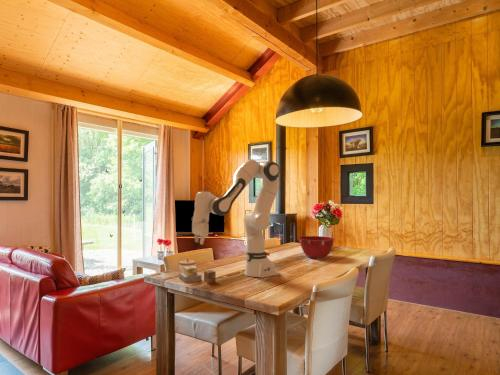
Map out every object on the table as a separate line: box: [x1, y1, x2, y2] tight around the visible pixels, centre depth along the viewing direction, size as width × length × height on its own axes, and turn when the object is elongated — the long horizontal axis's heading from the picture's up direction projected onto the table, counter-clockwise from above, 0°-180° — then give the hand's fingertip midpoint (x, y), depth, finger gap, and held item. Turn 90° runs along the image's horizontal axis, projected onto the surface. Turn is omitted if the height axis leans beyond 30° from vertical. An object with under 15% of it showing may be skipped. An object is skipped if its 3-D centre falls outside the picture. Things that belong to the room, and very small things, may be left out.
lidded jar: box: [178, 258, 197, 273], centre depth 201 cm, size 11×11×9 cm
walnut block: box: [203, 269, 217, 284], centre depth 184 cm, size 5×5×6 cm
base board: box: [178, 272, 203, 283], centre depth 189 cm, size 10×10×3 cm
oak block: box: [184, 266, 198, 276], centre depth 189 cm, size 6×6×4 cm
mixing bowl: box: [298, 235, 335, 259], centre depth 261 cm, size 28×28×15 cm
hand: (199, 243), depth 184 cm, fingers open, 8 cm apart
